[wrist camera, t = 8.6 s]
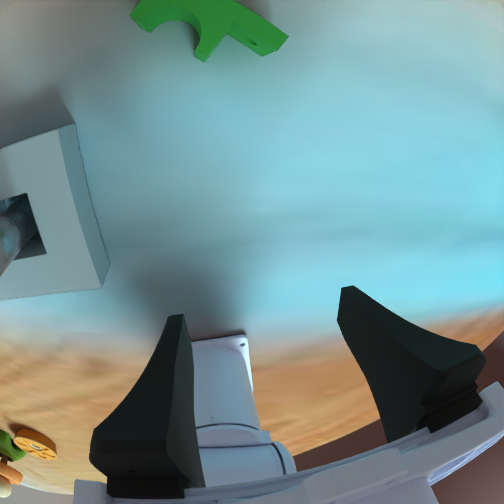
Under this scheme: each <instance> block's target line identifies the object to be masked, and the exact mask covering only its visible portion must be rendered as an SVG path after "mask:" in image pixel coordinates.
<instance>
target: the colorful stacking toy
mask: <svg viewBox="0 0 504 504" xmlns="http://www.w3.org/2000/svg"><path fill="white" fill-rule="evenodd" d="M13 440H14V442H15V444H16V445H17V446H18V447H14V446H12V444H11V443H12V442H11V441H10V435H9V434H8V433H7V432H5V431H2V430H0V457H2V459H1V461H0V497H7V496H9V495H10V494H11V491H12V487H11V484H10V483H12V484H16V485H18V484H20V482H21V481H22V478H23V475H22V474H21V473H20V472H19V471H17V470H15V469H14V468H12V467H10V466H8V465H7V461H11V462H13V461H16V460H20V459H22V458H23V457H24V456H25V454H26V452H27V453H29V454H31V455H34V456H36V457H39V458H42V459H47V460H54V459H56V458H57V451H56V445H55V443H54V442H53V441H52V440H50V439H49V438H47V437H46V436H44V435H42V434H40V433H38V432H35V431H32V430H28V429H20V430H19V431H18V432H17V434H16V436H15V437H14V439H13Z"/></svg>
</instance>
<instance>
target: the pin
mask: <svg viewBox="0 0 504 504" xmlns="http://www.w3.org/2000/svg"><path fill="white" fill-rule="evenodd" d="M37 230H38V227H37V224H36V221H35V217H34V214H33V211H32V208H31V205H30V201H29V198H28V194H27V193H24V194H21V195H20V196H19V197H17V198H16V199H15V200H14V201H13V202H11V203H10V204H9V205H8V206H7V207H5V208H4V209H3V210H2V211H1V212H0V277H1V275H2V274H3V273H4V271H5V270H6V269H7V267H8V266H9V265H10V263H11V262H12V261H13V260H14V258H15V257H16V256H17V254H18V253H19V252H20V251H21V249H22V248H23V247H24V246H25V244H26V243H27V242H28V241H29V240H30V238H31V237H32V236H33V235H34V234H35V232H36V231H37Z"/></svg>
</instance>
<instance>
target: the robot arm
mask: <svg viewBox="0 0 504 504" xmlns="http://www.w3.org/2000/svg"><path fill="white" fill-rule="evenodd" d="M337 322H338V324H339V327H340V330H341V332H342V335H343V337H344V339H345V341H346V343H347V345H348V346H349V348H350V350H351V352H352V354H353V355H354V357H355V359H356V361H357V362H358V364H359V366H360V368H361V370H362V371H363V373H364V375H365V377H366V379H367V382H368V384H369V387H370V389H371V392H372V394H373V397H374V400H375V403H376V405H377V408H378V411H379V414H380V418H381V421H382V424H383V428H384V431H385V435H386V439H387V443H388V444H386V445H383V446H380V447H378V448H375V449H373V450H370V451H367V452H364V453H362V454H359V455H356V456H353V457H350V458H346V459H343V460H341V461H337V462H334V463H330V464H327V465H323V466H320V467H316V468H312V469H309V470H304V471H300V472H297V471H296V466H295V463H294V460H293V457H292V455H291V453H290V452H289V451H288V449H287V448H285V447H284V445H283V444H282V443H280V442H278V441H272V442H271V438H270V434H269V431H262V430H261V426H260V422H259V418H258V413H257V409H256V405H255V401H254V396H253V384H252V375H251V366H250V357H249V347H248V339H247V336H246V335H236V336H230V337H224V338H217V339H210V340H203V341H195V342H191V341H190V337H189V334H188V330H187V326H186V323H185V319H184V315H183V314H179V315H172V316H169V317H168V319H167V322H166V325H165V327H164V330H163V333H162V335H161V337H160V340H159V342H158V344H157V346H156V349H155V351H154V353H153V355H152V357H151V359H150V360H149V362H148V364H147V366H146V368H145V370H144V371H143V373H142V375H141V376H140V378H139V379H138V381H137V382H136V384H135V385H134V387H133V388H132V389H131V391H130V392H129V393H128V395H127V396H126V397H125V398H124V400H123V401H122V402H121V403H120V404H119V405H118V406H117V408H116V409H115V410H114V411H113V412H112V413H111V414H110V415H109V416H108V417H107V418H106V419H105V420H104V421H103V422H102V423H100V424H99V425H98V426H97V427H96V428H95V429H94V431H93V435H92V439H91V444H90V454H89V460H90V462H91V464H92V465H93V466H94V467H95V468H97V469H98V470H99V471H100V472H102V473H103V474H104V475H105V476H107V484H106V483H103V482H98V481H87V480H78V479H76V480H75V484H74V500H73V504H439V503H438V502H437V499H436V497H435V495H434V493H433V491H432V489H431V487H430V486H431V485H432V484H434V483H436V482H437V481H439V480H441V479H442V478H444V477H446V476H447V475H449V474H451V473H452V472H454V471H455V470H457V469H458V468H460V467H462V466H463V465H465V464H466V463H467V462H469V461H470V460H472V459H473V458H475V457H476V456H478V455H479V454H480V453H482V452H483V451H485V450H486V449H487V448H489V447H490V446H492V445H493V444H494V443H496V442H497V441H498V440H499V439H500V438H501V437H502V436H503V435H504V389H503V388H502V387H501V385H500V384H499V383H498V382H495V383H494V384H492V385H490V386H489V387H487V388H485V389H484V390H483V391H481V392H480V393H479V394H478V393H477V391H476V389H477V388H478V386H477V384H476V383H475V380H476V379H477V377H478V376H479V374H480V372H481V371H482V369H483V367H484V366H485V362H486V357H485V356H484V354H483V353H482V352H481V351H480V349H479V348H478V347H477V346H476V345H474V344H469V343H464V342H460V341H456V340H452V339H449V338H446V337H443V336H440V335H437V334H435V333H432V332H429V331H427V330H425V329H422V328H420V327H418V326H416V325H414V324H412V323H410V322H408V321H407V320H405V319H403V318H401V317H400V316H398V315H396V314H395V313H393V312H391V311H390V310H388V309H387V308H385V307H384V306H382V305H381V304H379V303H378V302H377V301H375V300H374V299H372V298H371V297H369V296H368V295H367V294H365V293H364V292H362V291H361V290H359V289H358V288H356V287H355V286H348V287H343V288H341V295H340V303H339V310H338V317H337ZM241 343H243V344H241Z"/></svg>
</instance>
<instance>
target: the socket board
mask: <svg viewBox="0 0 504 504" xmlns="http://www.w3.org/2000/svg"><path fill="white" fill-rule="evenodd" d="M23 193H27V194H28V198H29V201H30V205H31V208H32V211H33V214H34V217H35V221H36V224H37V227H38V230H39V233H40V235H41V238H40V239H35V240H31V241H28V242H27V243H26V244H25V246H24V247H23V248H22V249H21V251H20V252H19V253H18V254H17V256H16V257H15V258H14V260H13V261H12V262H11V263H10V265H9V266H8V267H7V269H6V270H5V271H4V273H3V274H2V275H1V277H0V301H1V300H9V299H17V298H25V297H33V296H42V295H49V294H57V293H65V292H73V291H81V290H88V289H96V288H102V285H103V283H104V280H105V277H106V274H107V271H108V269H109V266H110V264H109V261H108V258H107V254H106V251H105V248H104V245H103V241H102V238H101V235H100V231H99V228H98V224H97V221H96V217H95V213H94V209H93V206H92V202H91V198H90V194H89V190H88V186H87V181H86V177H85V172H84V168H83V163H82V158H81V153H80V148H79V143H78V138H77V132H76V126H75V123H73V124H69V125H66V126H63V127H59V128H56V129H53V130H50V131H47V132H44V133H41V134H38V135H35V136H32V137H29V138H26V139H23V140H21V141H18V142H15V143H12V144H10V145H7V146H5V147H2V148H0V212H1V211H2V210H3V209H4V208H5V204H4V201H3V200H4V199H7V198H10V197H13V196H17V195H20V194H23Z"/></svg>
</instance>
